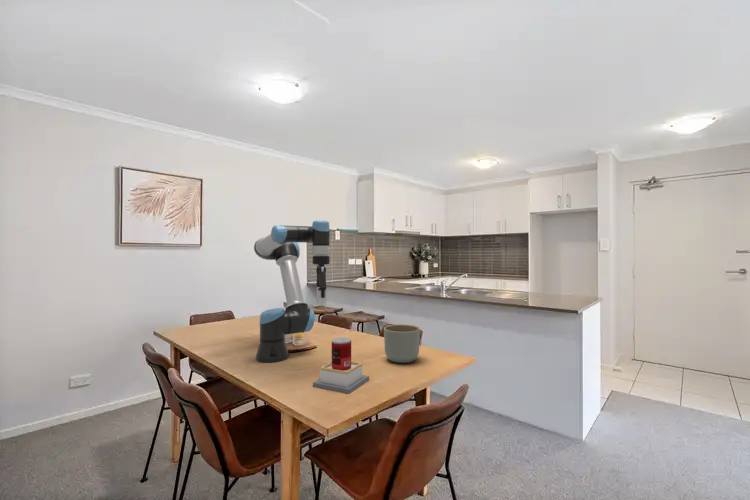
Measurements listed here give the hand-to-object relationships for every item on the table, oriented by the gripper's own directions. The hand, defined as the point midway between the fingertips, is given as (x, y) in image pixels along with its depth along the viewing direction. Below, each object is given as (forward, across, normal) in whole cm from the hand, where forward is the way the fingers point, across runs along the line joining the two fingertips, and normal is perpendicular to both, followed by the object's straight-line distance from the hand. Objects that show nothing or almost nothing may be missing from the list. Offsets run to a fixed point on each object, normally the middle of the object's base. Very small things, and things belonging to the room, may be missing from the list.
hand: (321, 303), depth 162 cm
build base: (+29, -21, -6) cm, 36 cm away
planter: (+29, +2, -38) cm, 48 cm away
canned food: (+23, -21, -6) cm, 31 cm away
